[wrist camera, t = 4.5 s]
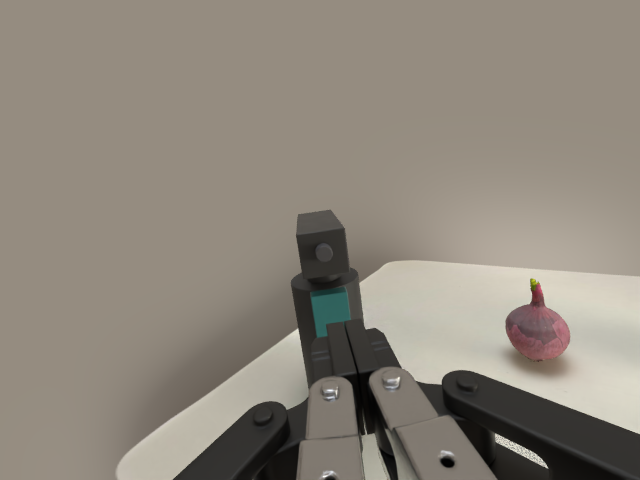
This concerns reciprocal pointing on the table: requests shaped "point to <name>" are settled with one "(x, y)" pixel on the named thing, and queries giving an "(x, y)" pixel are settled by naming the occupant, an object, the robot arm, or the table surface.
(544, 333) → the vegetable
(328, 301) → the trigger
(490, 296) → the table surface
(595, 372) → the table surface
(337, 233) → the spray bottle
